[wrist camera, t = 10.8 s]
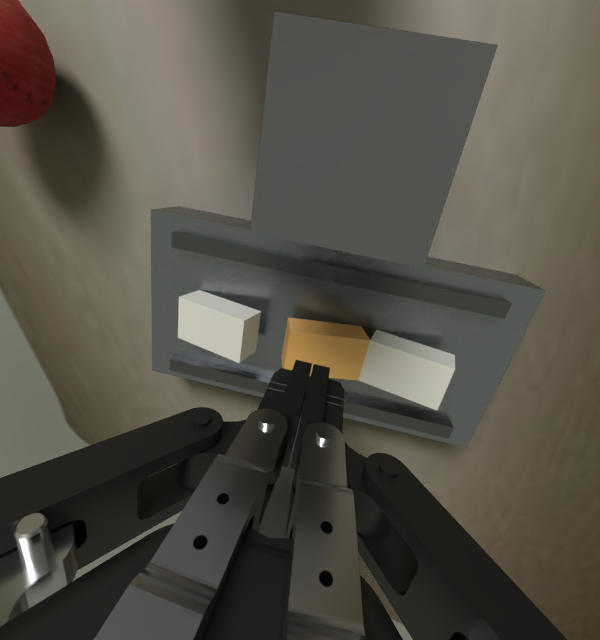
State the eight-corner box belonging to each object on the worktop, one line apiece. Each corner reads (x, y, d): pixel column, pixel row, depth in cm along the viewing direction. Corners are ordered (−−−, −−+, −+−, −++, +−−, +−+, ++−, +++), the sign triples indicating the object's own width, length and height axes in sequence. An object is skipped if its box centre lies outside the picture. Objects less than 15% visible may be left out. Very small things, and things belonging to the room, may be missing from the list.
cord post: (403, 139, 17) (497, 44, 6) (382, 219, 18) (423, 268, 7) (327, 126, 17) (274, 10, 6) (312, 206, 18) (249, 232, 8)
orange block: (361, 326, 17) (370, 340, 16) (350, 364, 18) (358, 380, 17) (288, 317, 17) (290, 331, 15) (281, 357, 18) (282, 373, 16)
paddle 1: (261, 311, 17) (244, 320, 16) (255, 351, 18) (239, 363, 16) (199, 289, 18) (178, 296, 17) (197, 328, 19) (177, 337, 18)
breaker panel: (517, 275, 18) (552, 294, 15) (452, 415, 22) (470, 455, 19) (179, 206, 20) (143, 210, 16) (175, 349, 24) (146, 375, 20)
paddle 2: (455, 354, 16) (455, 368, 15) (438, 394, 17) (437, 410, 16) (376, 329, 17) (370, 340, 16) (365, 367, 18) (358, 380, 17)
